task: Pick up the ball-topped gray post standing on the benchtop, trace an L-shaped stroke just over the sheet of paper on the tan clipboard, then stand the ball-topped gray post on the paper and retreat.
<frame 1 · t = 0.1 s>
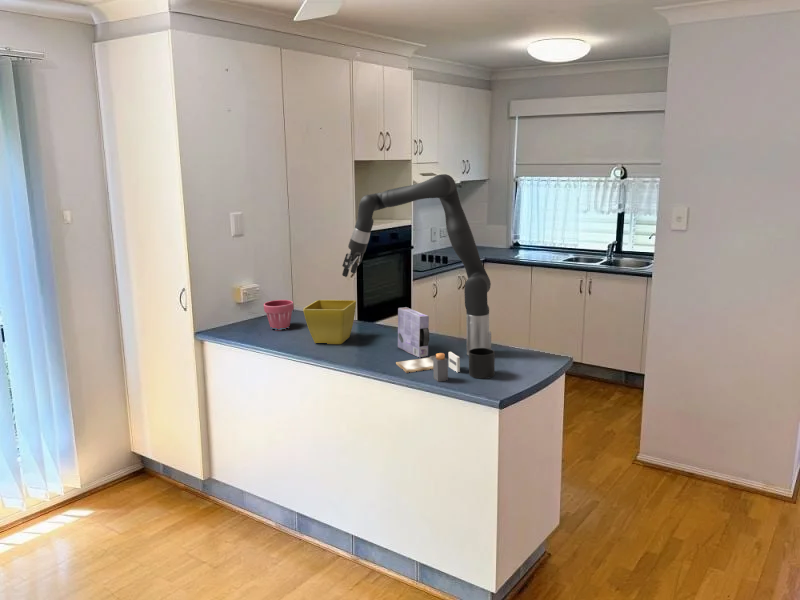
hand: (348, 274, 280), 31 cm above the counter, tool tilted 20°, fingers open, 8 cm apart
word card: (454, 369, 249), on the counter
mug: (483, 374, 243), on the counter
plant pot: (280, 328, 319), on the counter
clipboard: (420, 365, 255), on the counter
ball-topped gray post: (440, 379, 238), on the counter
cake pan box: (413, 352, 273), on the counter
flower pot: (332, 340, 294), on the counter
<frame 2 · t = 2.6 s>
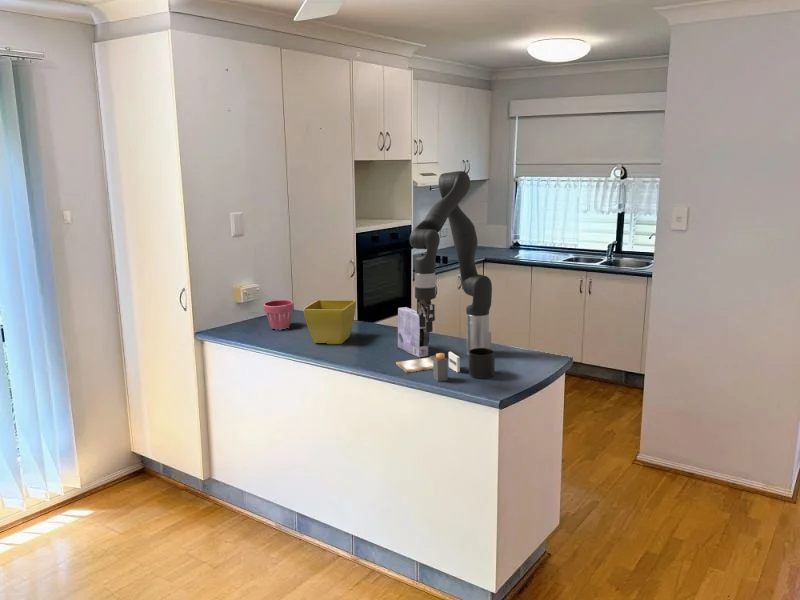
hand: (425, 329, 235), 19 cm above the counter, tool pointing down, fingers open, 8 cm apart
nothing on the counter moved.
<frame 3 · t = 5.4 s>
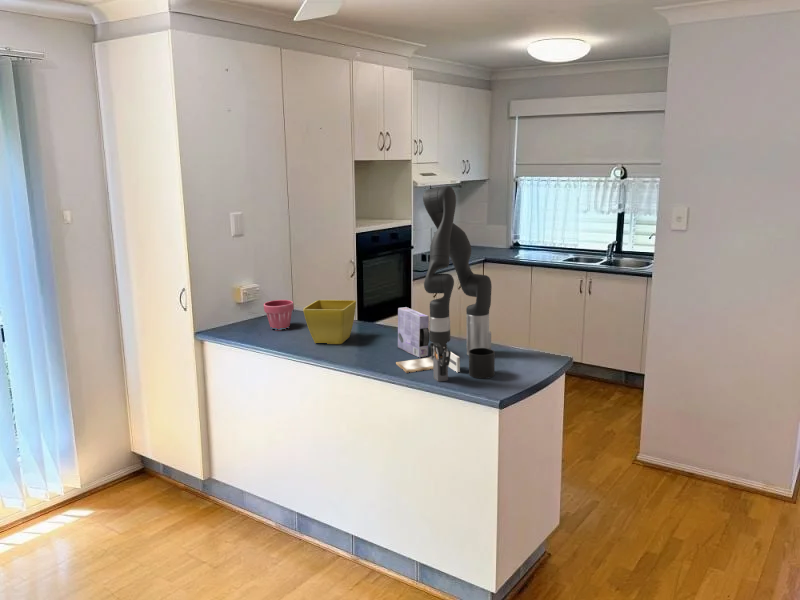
hand: (440, 373, 238), 2 cm above the counter, tool pointing down, fingers closed on ball-topped gray post, 4 cm apart
ball-topped gray post: (440, 379, 238), on the counter, touching gripper
everything else where it was.
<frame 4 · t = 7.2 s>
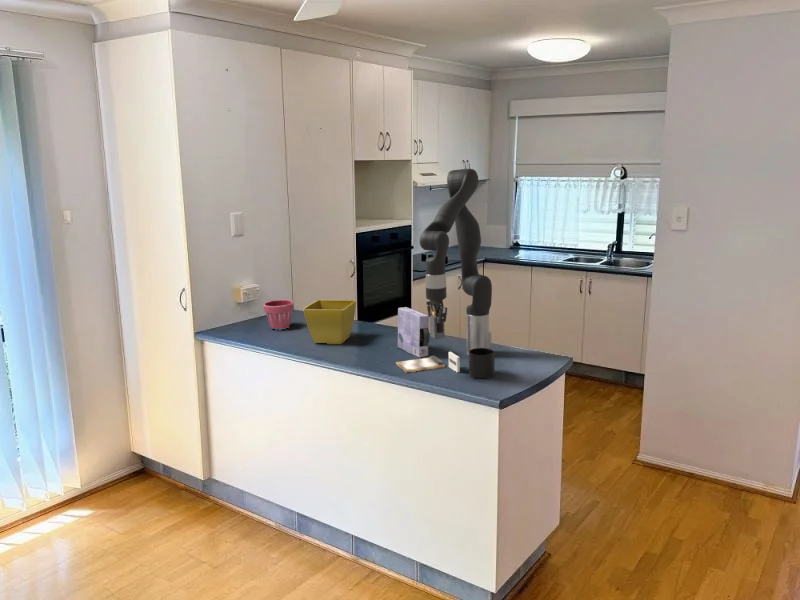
hand: (437, 330, 241), 17 cm above the counter, tool pointing down, fingers closed on ball-topped gray post, 4 cm apart
ball-topped gray post: (437, 336, 241), point 14 cm above the counter, touching gripper
everything else where it was.
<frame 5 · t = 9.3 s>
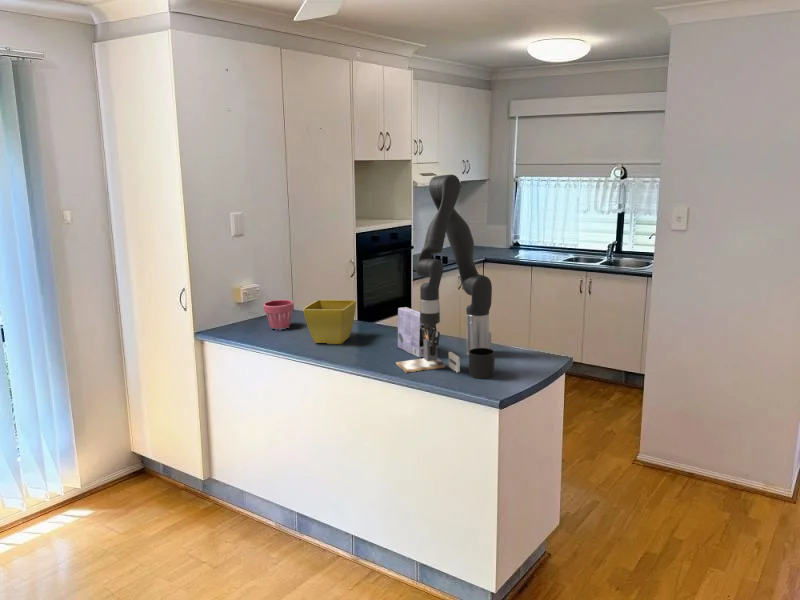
hand: (430, 353, 251), 6 cm above the counter, tool pointing down, fingers closed on ball-topped gray post, 4 cm apart
ball-topped gray post: (430, 359, 251), point 3 cm above the counter, touching gripper
everything else where it was.
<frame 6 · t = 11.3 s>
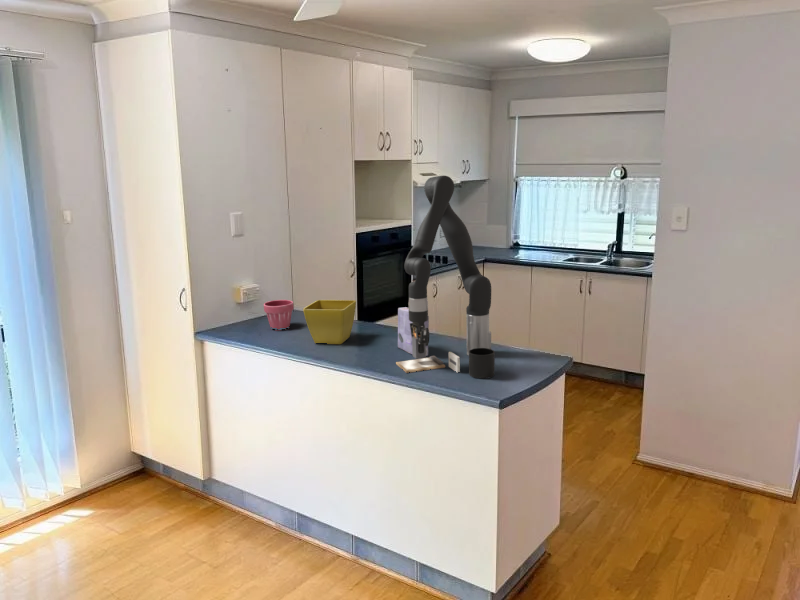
hand: (419, 351, 254), 6 cm above the counter, tool pointing down, fingers closed on ball-topped gray post, 4 cm apart
ball-topped gray post: (419, 356, 255), point 3 cm above the counter, touching gripper
everything else where it was.
when the fingers open (4 cm above the counter, at t = 13.2 s): ball-topped gray post drops 1 cm, resting on clipboard.
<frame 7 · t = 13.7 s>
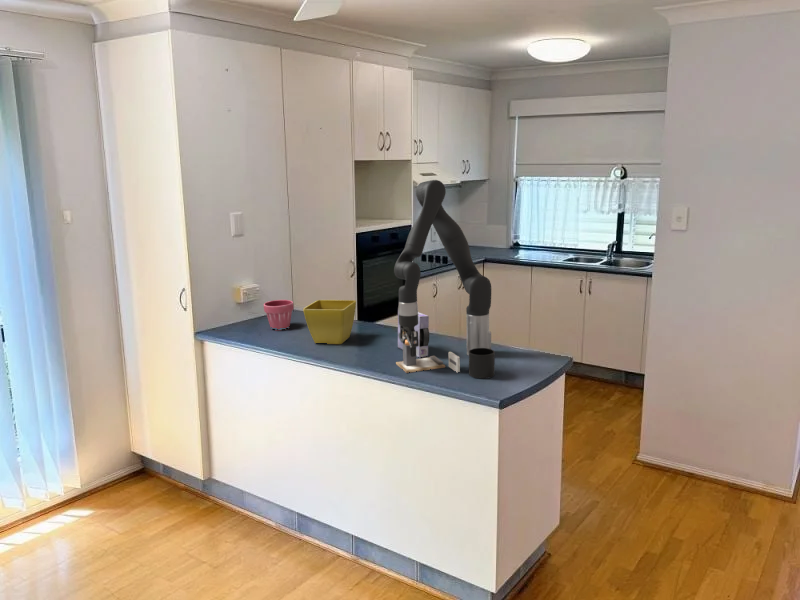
hand: (409, 353, 253), 5 cm above the counter, tool pointing down, fingers open, 8 cm apart
ball-topped gray post: (409, 364, 254), point 1 cm above the counter, touching clipboard
everything else where it was.
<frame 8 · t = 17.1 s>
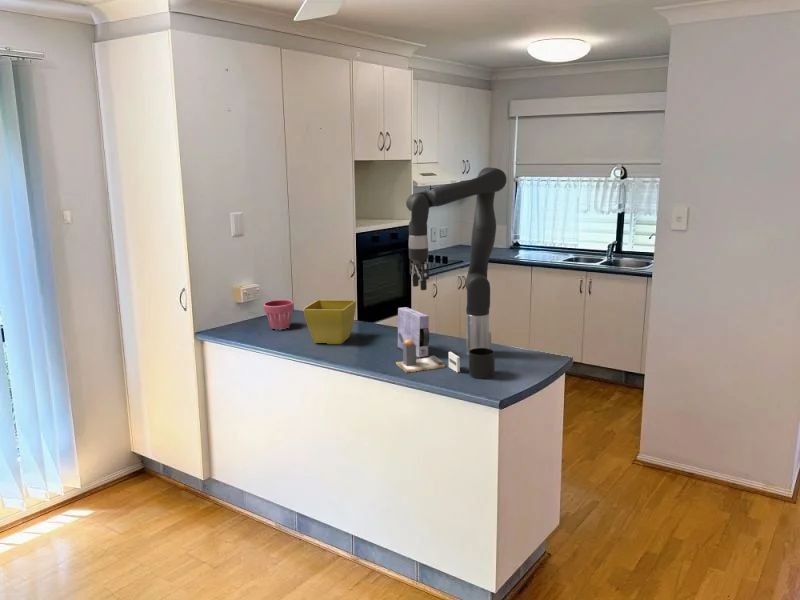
hand: (419, 288, 253), 30 cm above the counter, tool pointing down, fingers open, 8 cm apart
nothing on the counter moved.
at the end: ball-topped gray post inside the target area on the clipboard (4.2 cm from its centre), point 1.0 cm above the clipboard's base; ball-topped gray post tilted 0°; the gripper is holding nothing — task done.
